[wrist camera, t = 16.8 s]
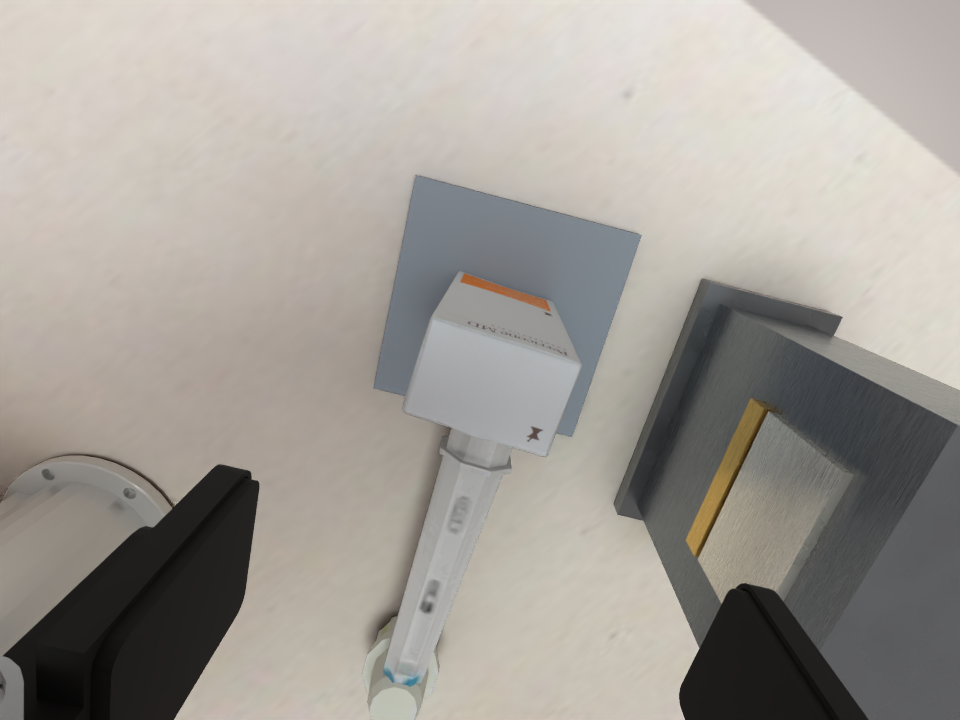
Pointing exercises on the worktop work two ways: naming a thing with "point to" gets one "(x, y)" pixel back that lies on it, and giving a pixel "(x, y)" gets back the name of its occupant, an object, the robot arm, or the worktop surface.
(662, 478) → the mounted unit
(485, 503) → the white elongated piece
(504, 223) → the slate mat
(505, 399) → the skincare box
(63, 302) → the worktop surface
